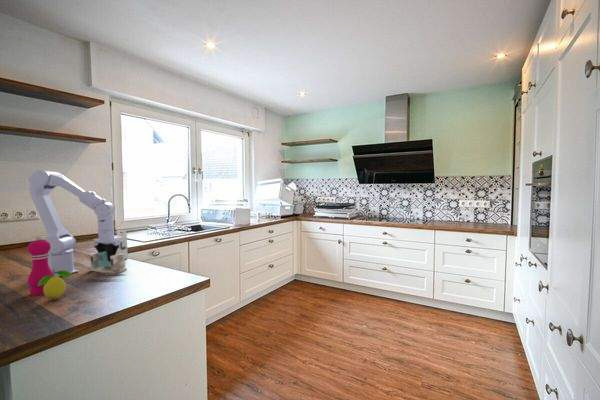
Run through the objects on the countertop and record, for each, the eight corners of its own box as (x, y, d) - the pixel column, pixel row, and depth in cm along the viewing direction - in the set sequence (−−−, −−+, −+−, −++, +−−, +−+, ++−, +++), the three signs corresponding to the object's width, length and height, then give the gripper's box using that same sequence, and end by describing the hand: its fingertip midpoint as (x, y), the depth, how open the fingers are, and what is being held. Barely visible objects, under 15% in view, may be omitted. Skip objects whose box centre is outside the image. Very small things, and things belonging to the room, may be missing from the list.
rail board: (113, 274, 119) (112, 256, 119) (90, 270, 125) (89, 254, 125) (126, 270, 125) (125, 253, 124) (104, 266, 131) (103, 250, 130)
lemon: (73, 295, 97) (71, 266, 96) (59, 302, 91) (57, 271, 90) (53, 295, 96) (51, 266, 96) (37, 302, 91) (35, 272, 90)
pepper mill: (53, 286, 105) (49, 233, 104) (58, 291, 101) (54, 235, 99) (26, 292, 100) (22, 236, 98) (30, 297, 95) (25, 238, 94)
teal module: (104, 267, 121) (103, 253, 121) (97, 266, 123) (96, 252, 122) (115, 264, 126) (115, 250, 126) (109, 263, 128) (109, 250, 127)
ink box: (108, 259, 144) (106, 230, 143) (118, 257, 148) (117, 229, 148) (118, 261, 140) (116, 231, 139) (128, 259, 144) (127, 230, 143)
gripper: (126, 229, 125) (127, 259, 126) (104, 227, 130) (106, 257, 131) (110, 231, 118) (112, 263, 119) (88, 230, 124) (89, 260, 125)
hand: (107, 260), depth 125 cm, fingers closed on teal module, 4 cm apart
